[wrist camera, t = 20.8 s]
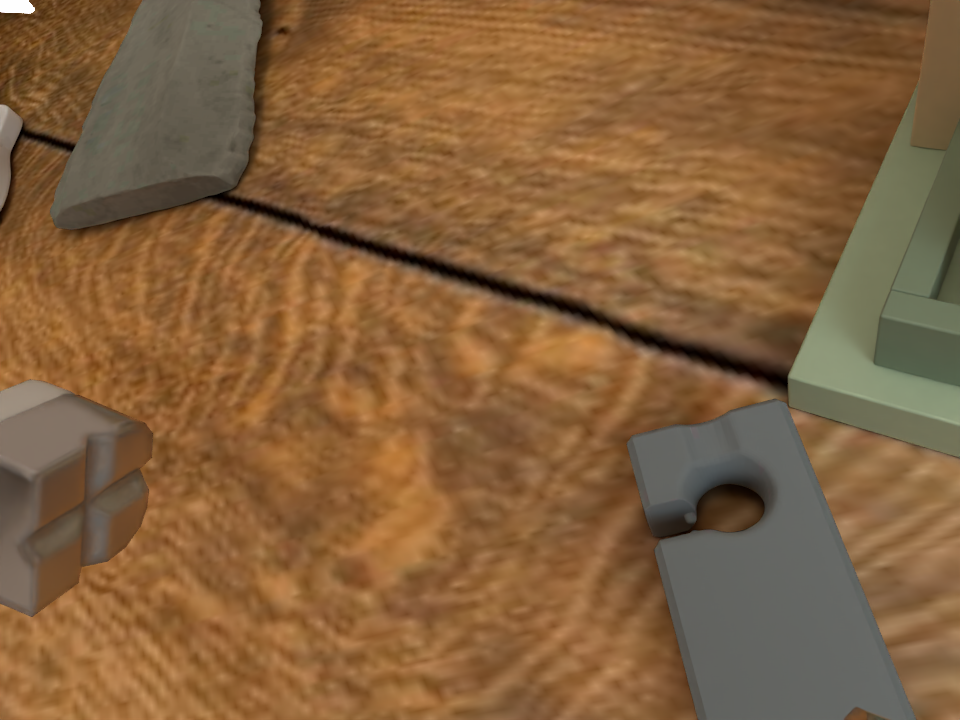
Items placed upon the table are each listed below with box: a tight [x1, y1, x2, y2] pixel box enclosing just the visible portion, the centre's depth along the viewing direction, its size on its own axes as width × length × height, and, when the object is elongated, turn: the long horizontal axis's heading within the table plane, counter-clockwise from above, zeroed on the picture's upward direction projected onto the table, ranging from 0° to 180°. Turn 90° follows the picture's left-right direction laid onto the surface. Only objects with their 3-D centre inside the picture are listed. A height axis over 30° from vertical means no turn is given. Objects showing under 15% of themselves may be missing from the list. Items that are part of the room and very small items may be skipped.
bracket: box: [627, 399, 916, 720], centre depth 17 cm, size 4×10×2 cm, turn 7°
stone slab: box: [50, 0, 263, 230], centre depth 41 cm, size 22×3×10 cm
